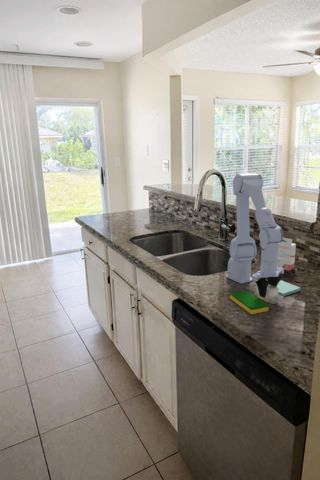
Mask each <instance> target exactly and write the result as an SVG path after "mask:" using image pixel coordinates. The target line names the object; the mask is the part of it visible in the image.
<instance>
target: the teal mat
mask: <svg viewBox="0 0 320 480" xmlns="http://www.w3.org/2000/svg"><path fill="white" fill-rule="evenodd" d="M277 288H278V289H279V291H278V295H281V296H283V297H285V296H288V295H291V294H294V293H295V294H296V293H298V292H300V291H301V287H300V286H298V285H294V284H292V283H289V282H286V281H285V280H282V279H281V280H280V282H279V283H278V285H277Z"/></svg>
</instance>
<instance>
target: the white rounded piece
mask: <svg viewBox="0 0 320 480" xmlns="http://www.w3.org/2000/svg"><path fill="white" fill-rule="evenodd" d="M255 284H256V283H255ZM278 291H279V289H278V288H277V287H275V286H272V285H270V284H268V286H267V290H266V296H265V298H263V297H261V296H260V295H259V290H258V287H257V284H256V288H255V297H257V298H258V299H260V300H262V301H263V302H265V303H268V304H271V305H273V304H277V303H278V302H279V301H283V300H284V297H285V296H281V295H278Z"/></svg>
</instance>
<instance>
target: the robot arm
mask: <svg viewBox="0 0 320 480" xmlns="http://www.w3.org/2000/svg"><path fill="white" fill-rule="evenodd" d="M263 178H264V177H263V176H262V174H261V173H259V172H258V173H257V172H256V173H241V174H240V173H237V174H235V176H234V177H233V181H232V186H233V187H232V191H233V192H232V193H233V195H234V196H235V202H236V203H235V204H236V205H235V206H236V207H235V208H236V209H235V210H236V236H235V237H234V238H233V239H231V241H230V245H229V256H230V257H229V259H228V262H227V275H226V276H225V277H226V278H228V279H229V280H232V281H234V282H237V283H238V284H246V283H249V282H252V281H253V282H254V283H255V284H257V287H258V290H259V295H260V296H261V297H263V298H265V296H266V290H267V286H268V284H270V285H272V286H275V287H277V285H278V283H279V282H280V280H282V278H283V277H282V275H283V274H284V272H285V270H284V268H281V267H278V268H277V262H278V250H279V243H280V242H281V241H282V242H283V241H284V240H283V238H284V232H283V228H282V227H281V226H280V225H279V224H278V223H276V221H275V218H274V215H273V213H272V210H271V209H270V208H269V207H267V205H266V202H265V197H264V194H263V186H264V179H263ZM250 199H251V201H252V204H253V205H254V208H255V210H256V212H255V214H254V215H255V216H254V217H255V220H256V222H257V225H258V227H259V233H258V236H259V237H258V238H259V242H260V243H259V245H260V248H261V252H260V253H261V254H260V268H259V269H260V270H258V271H257V272H256V273H253V274H252V261H253V260H254V258H255V257H256V256H257V253H258V251H257V245H256V240H255V239H254V238H252V237H251V235H250V233H251V231H250V228H251V227H250Z"/></svg>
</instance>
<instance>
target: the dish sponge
mask: <svg viewBox="0 0 320 480" xmlns="http://www.w3.org/2000/svg"><path fill="white" fill-rule="evenodd" d="M229 299H230V300H231V301H233V302H234V303H236V304H237V305H238V306H240V307H241V308H242V309H244V310H245V311H246V312H248V313H249V314H250V315H256V314H260V313H264V312H269V310H270V309H269V308H270V307H269V306H270V305H269V303H268V304H267V302H266V301H264V300H261V299H259V298H257V297H256V295H254V294H252V293H251V292H250V291H248V290H241V291H236V292H235V291H234V292H231V293H230V295H229Z"/></svg>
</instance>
